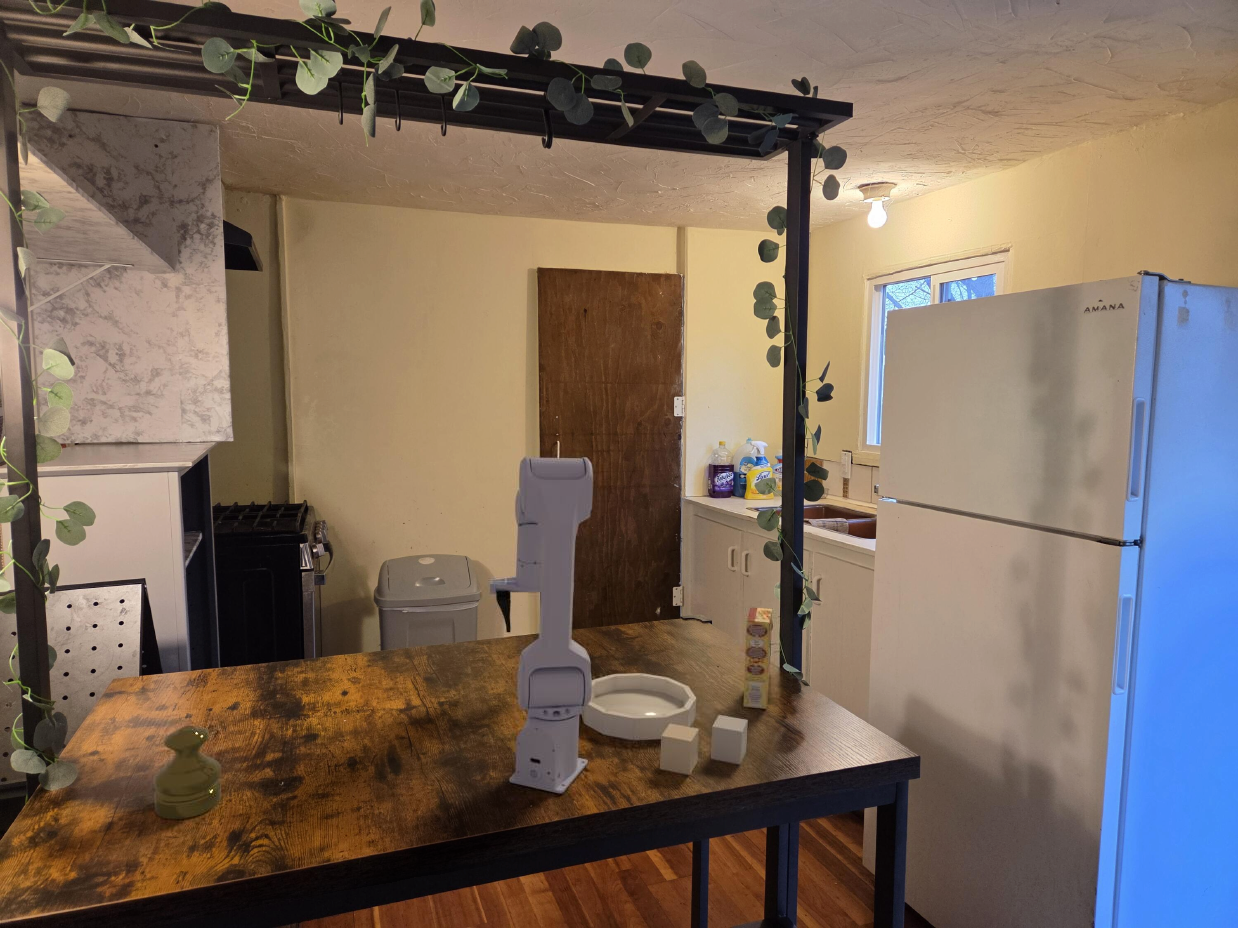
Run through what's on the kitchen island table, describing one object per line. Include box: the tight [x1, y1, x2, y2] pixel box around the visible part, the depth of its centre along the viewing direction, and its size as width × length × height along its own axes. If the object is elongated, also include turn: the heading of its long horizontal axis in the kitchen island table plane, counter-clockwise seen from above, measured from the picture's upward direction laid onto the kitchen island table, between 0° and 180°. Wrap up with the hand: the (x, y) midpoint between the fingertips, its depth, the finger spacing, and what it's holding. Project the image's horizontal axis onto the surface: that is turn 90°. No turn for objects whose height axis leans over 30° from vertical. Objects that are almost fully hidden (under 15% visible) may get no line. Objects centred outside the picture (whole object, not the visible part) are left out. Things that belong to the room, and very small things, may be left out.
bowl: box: [580, 672, 697, 741], centre depth 130 cm, size 18×18×4 cm
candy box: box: [743, 607, 773, 710], centre depth 137 cm, size 9×4×15 cm, turn 167°
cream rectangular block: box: [659, 724, 700, 776], centre depth 113 cm, size 4×4×5 cm
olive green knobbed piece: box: [153, 725, 222, 820], centre depth 98 cm, size 7×7×10 cm
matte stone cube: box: [710, 714, 749, 765], centre depth 116 cm, size 4×4×5 cm
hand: (530, 629), depth 139 cm, fingers open, 7 cm apart
